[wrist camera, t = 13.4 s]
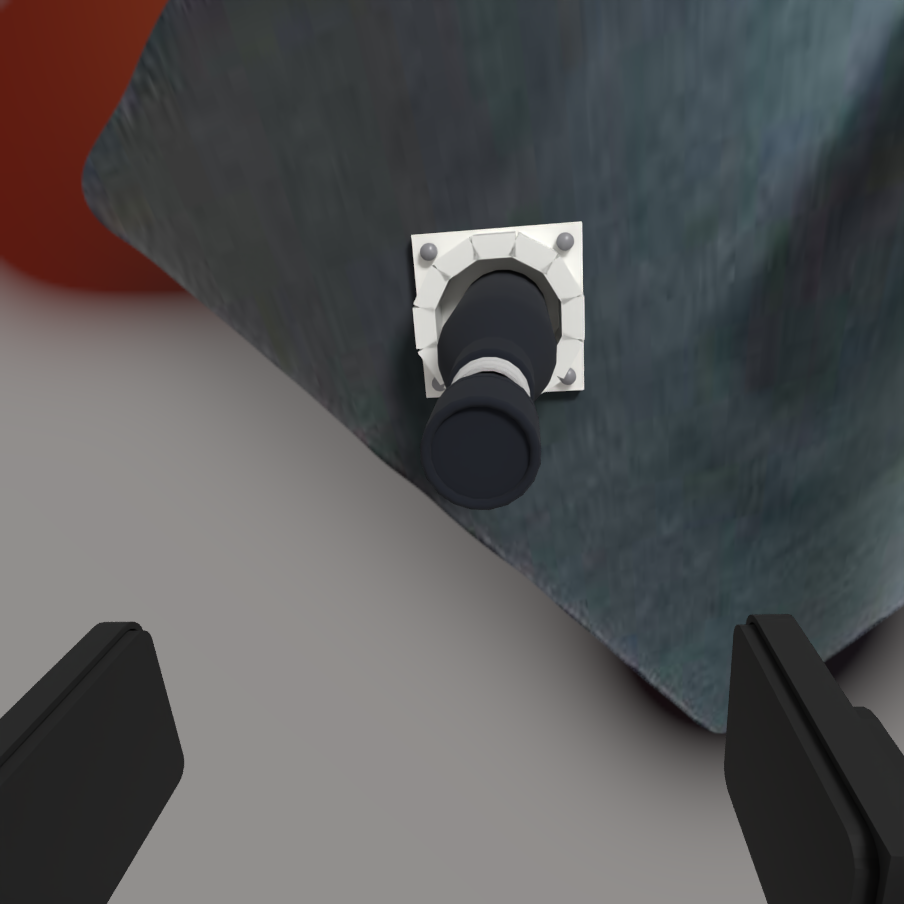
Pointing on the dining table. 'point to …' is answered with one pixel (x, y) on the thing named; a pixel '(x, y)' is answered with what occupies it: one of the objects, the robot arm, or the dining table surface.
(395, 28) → the dining table surface
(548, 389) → the flange socket
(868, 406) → the dining table surface
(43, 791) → the robot arm
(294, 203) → the dining table surface
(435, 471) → the dark blue bottle
